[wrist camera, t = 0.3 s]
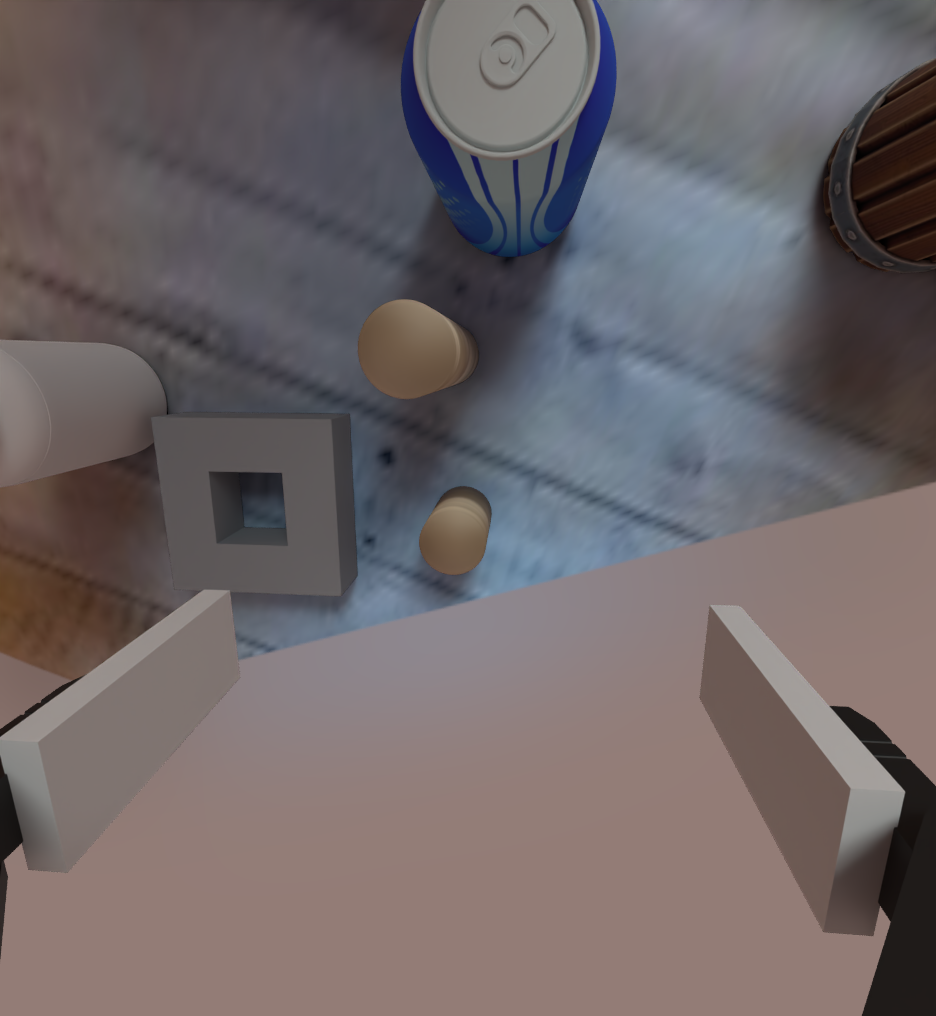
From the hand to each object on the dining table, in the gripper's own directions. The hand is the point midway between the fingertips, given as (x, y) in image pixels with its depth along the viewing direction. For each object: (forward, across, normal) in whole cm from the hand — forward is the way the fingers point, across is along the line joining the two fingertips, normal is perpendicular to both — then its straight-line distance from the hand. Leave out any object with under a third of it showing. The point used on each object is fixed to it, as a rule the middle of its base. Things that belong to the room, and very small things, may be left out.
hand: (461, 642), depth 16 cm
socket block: (+25, -16, -2) cm, 30 cm away
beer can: (+25, +1, +18) cm, 31 cm away
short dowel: (+25, -2, -3) cm, 26 cm away
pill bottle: (+25, -27, +5) cm, 38 cm away
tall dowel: (+25, -3, +8) cm, 27 cm away
